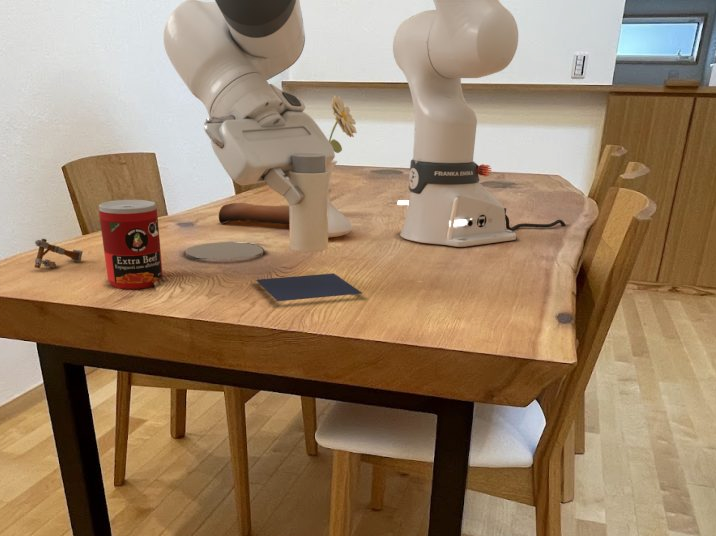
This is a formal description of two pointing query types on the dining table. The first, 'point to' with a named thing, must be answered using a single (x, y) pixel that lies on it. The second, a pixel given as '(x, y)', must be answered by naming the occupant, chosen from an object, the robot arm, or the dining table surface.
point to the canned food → (131, 243)
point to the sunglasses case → (254, 213)
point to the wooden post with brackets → (42, 244)
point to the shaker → (309, 203)
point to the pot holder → (307, 287)
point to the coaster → (223, 250)
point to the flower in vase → (336, 220)
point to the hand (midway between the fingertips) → (312, 198)
